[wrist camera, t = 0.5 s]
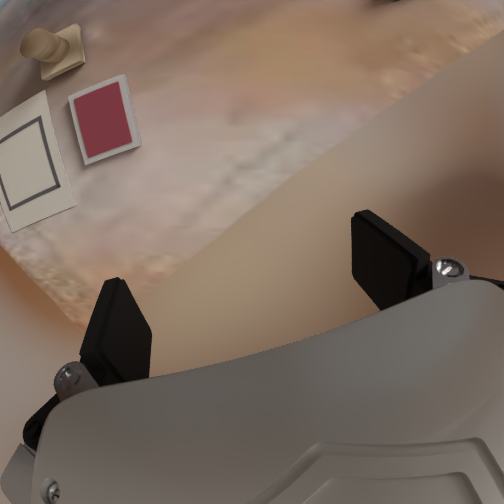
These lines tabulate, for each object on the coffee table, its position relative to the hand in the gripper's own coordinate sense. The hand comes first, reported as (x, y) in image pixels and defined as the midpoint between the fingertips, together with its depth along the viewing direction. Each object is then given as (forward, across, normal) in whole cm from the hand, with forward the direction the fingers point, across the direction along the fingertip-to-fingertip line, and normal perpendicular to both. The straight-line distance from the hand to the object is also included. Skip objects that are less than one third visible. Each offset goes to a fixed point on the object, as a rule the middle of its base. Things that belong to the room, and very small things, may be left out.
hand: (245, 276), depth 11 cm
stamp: (+29, +16, -21) cm, 39 cm away
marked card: (+29, +27, -8) cm, 40 cm away
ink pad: (+29, +12, -9) cm, 33 cm away
